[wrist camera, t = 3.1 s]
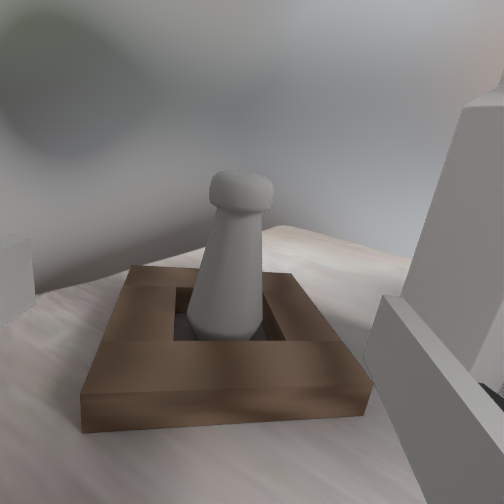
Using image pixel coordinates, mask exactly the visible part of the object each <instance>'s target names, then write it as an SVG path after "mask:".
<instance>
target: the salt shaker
mask: <svg viewBox="0 0 504 504" xmlns="http://www.w3.org/2000/svg"><path fill="white" fill-rule="evenodd" d="M209 199H210V202H211V204H213V205H214V206H216V207H217V211H216V214H215V218H214V221H213V224H212V228H211V231H210V235H209V238H208V242H207V245H206V248H205V252H204V255H203V259H202V262H201V265H200V269H199V272H198V276H197V279H196V283H195V286H194V289H193V293H192V296H191V299H190V303H189V306H188V310H187V320H188V322H189V324H190V327H191V329H192V332H193V334H194V337H195V339H196V341H250V340H251V339H252V337H253V336H254V334H255V333H256V331H257V330H258V328H259V327H260V325H261V322H262V319H263V309H262V226H261V225H262V224H261V213H263V212H266V211H269V209H270V207H271V205H272V200H273V185H272V184H271V182H270V181H269V179H267V178H265V177H264V176H261V175H258V174H253V173H249V172H242V171H221V172H218V173H217V174H216V175H214V176H213V178H212V181H211V185H210V192H209Z"/></svg>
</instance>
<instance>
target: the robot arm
mask: <svg viewBox="0 0 504 504" xmlns="http://www.w3.org/2000/svg"><path fill="white" fill-rule="evenodd" d="M35 304H36V300H35V288H34V276H33V263H32V251H31V239H30V238H27V237H21V236H14V235H8V236H5V237H2V238H0V328H1V327H2V326H4V325H5V324H7V323H8V322H10V321H11V320H13V319H14V318H16V317H17V316H19V315H20V314H22V313H23V312H25V311H26V310H28V309H29V308H31V307H32V306H34V305H35ZM363 358H364V361H365V363H366V365H367V367H368V370H369V372H370V374H371V376H372V379H373V381H374V383H375V386H376V388H377V390H378V392H379V395H380V397H381V399H382V401H383V404H384V406H385V408H386V411H387V413H388V415H389V417H390V420H391V422H392V424H393V426H394V429H395V431H396V433H397V435H398V438H399V440H400V442H401V445H402V447H403V449H404V451H405V454H406V456H407V458H408V460H409V463H410V465H411V467H412V470H413V472H414V474H415V476H416V479H417V481H418V483H419V485H420V488H421V490H422V492H423V495H424V497H425V499H426V501H427V504H504V398H502V397H501V396H500V395H498V394H497V393H496V392H494V391H493V390H492V389H490V388H489V387H487V386H486V385H485V384H483V383H478V382H477V381H476V380H475V379H474V378H473V377H472V376H471V374H470V373H469V372H468V371H467V370H466V369H465V368H464V366H463V365H462V364H461V363H460V362H459V361H458V360H457V359H456V357H455V356H454V355H453V354H452V353H451V352H450V351H449V349H448V348H447V347H446V346H445V345H444V344H443V343H442V341H441V340H440V339H439V338H438V337H437V336H436V335H435V334H434V332H433V331H432V330H431V329H430V328H429V327H428V326H427V324H426V323H425V322H424V321H423V320H422V319H421V318H420V316H419V315H418V314H417V313H416V312H415V311H414V310H413V309H412V307H411V306H410V305H409V304H408V303H407V302H406V301H405V299H404V298H400V297H394V296H387V295H382V298H381V301H380V305H379V308H378V311H377V314H376V317H375V320H374V324H373V327H372V330H371V333H370V336H369V339H368V343H367V346H366V349H365V352H364V355H363Z"/></svg>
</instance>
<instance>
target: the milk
mask: <svg viewBox="0 0 504 504" xmlns="http://www.w3.org/2000/svg"><path fill="white" fill-rule="evenodd" d="M400 298H404V299H405V301H406V302H407V303H408V304H409V305H410V306H411V307H412V309H413V310H414V311H415V312H416V313H417V314H418V315H419V316H420V318H421V319H422V320H423V321H424V322H425V323H426V324H427V326H428V327H429V328H430V329H431V330H432V331H433V332H434V334H435V335H436V336H437V337H438V338H439V339H440V340H441V341H442V343H443V344H444V345H445V346H446V347H447V348H448V349H449V351H450V352H451V353H452V354H453V355H454V356H455V357H456V359H457V360H458V361H459V362H460V363H461V364H462V365H463V366H464V368H465V369H466V370H467V371H468V372H469V373H470V374H471V376H472V377H473V378H474V379H475V380H476V381H477V382H478V383H483V384H485V385H486V386H487V387H489V388H490V389H492V390H493V391H494V392H496V393H497V394H498V392H499V391H500V389H501V387H502V385H503V383H504V72H503V74H502V77H501V80H500V82H499V85H498V87H496V88H495V89H493V90H491V91H489V92H488V93H486V94H484V95H482V96H481V97H479V98H477V99H475V100H474V101H472V102H470V103H469V104H467V105H465V106H464V107H463V109H462V111H461V114H460V117H459V121H458V124H457V127H456V129H455V132H454V136H453V139H452V142H451V145H450V148H449V151H448V154H447V157H446V160H445V163H444V166H443V169H442V172H441V175H440V178H439V181H438V184H437V187H436V190H435V193H434V196H433V199H432V202H431V205H430V208H429V211H428V214H427V217H426V220H425V223H424V226H423V229H422V233H421V235H420V238H419V241H418V244H417V247H416V250H415V253H414V256H413V259H412V262H411V265H410V268H409V272H408V275H407V278H406V281H405V284H404V287H403V290H402V293H401V296H400Z"/></svg>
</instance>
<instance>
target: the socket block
mask: <svg viewBox="0 0 504 504" xmlns="http://www.w3.org/2000/svg"><path fill="white" fill-rule="evenodd" d="M198 272H199V269H196V268H177V267H158V266H138V265H132V266H131V268H130V271H129V273H128V276H127V278H126V281H125V283H124V286H123V288H122V291H121V293H120V296H119V298H118V301H117V303H116V306H115V308H114V311H113V313H112V316H111V318H110V321H109V323H108V326H107V328H106V331H105V333H104V336H103V338H102V341H101V343H100V346H99V348H98V351H97V353H96V356H95V358H94V361H93V363H92V366H91V368H90V371H89V373H88V376H87V378H86V381H85V383H84V386H83V388H82V391H81V393H80V402H81V424H82V433H92V432H108V431H124V430H140V429H156V428H172V427H188V426H204V425H220V424H236V423H252V422H268V421H284V420H300V419H316V418H332V417H348V416H363V415H364V412H365V409H366V406H367V403H368V400H369V397H370V394H371V391H372V388H373V385H374V383H373V382H372V380H371V379H370V378H369V376H368V375H367V374H366V372H365V371H364V370H363V368H362V367H361V366H360V364H359V363H358V362H357V360H356V359H355V358H354V356H353V355H352V354H351V352H350V351H349V350H348V348H347V347H346V346H345V344H344V343H343V342H342V340H341V339H340V338H339V337H338V335H337V334H336V333H335V331H334V330H333V329H332V327H331V326H330V325H329V323H328V322H327V321H326V319H325V318H324V317H323V315H322V314H321V313H320V311H319V310H318V309H317V307H316V306H315V305H314V303H313V302H312V301H311V299H310V298H309V297H308V295H307V294H306V293H305V291H304V290H303V289H302V287H301V286H300V285H299V283H298V282H297V281H296V279H295V278H294V277H293V276H292V274H291V273H272V272H262V309H263V319H262V322H261V323H262V326H263V328H264V331H265V333H266V336H267V338H268V341H173V335H174V317H175V312H179V313H187V310H188V306H189V303H190V299H191V296H192V293H193V289H194V286H195V283H196V279H197V276H198Z"/></svg>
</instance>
